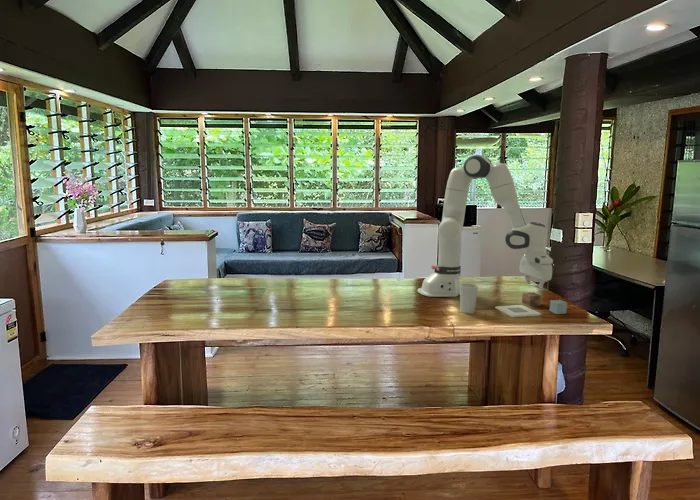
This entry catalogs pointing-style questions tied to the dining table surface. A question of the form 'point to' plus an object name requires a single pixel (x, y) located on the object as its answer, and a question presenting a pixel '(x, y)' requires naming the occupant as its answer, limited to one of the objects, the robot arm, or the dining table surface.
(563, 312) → the grey cube
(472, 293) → the cup
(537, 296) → the walnut block
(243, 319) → the dining table surface
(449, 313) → the dining table surface
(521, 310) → the plate
